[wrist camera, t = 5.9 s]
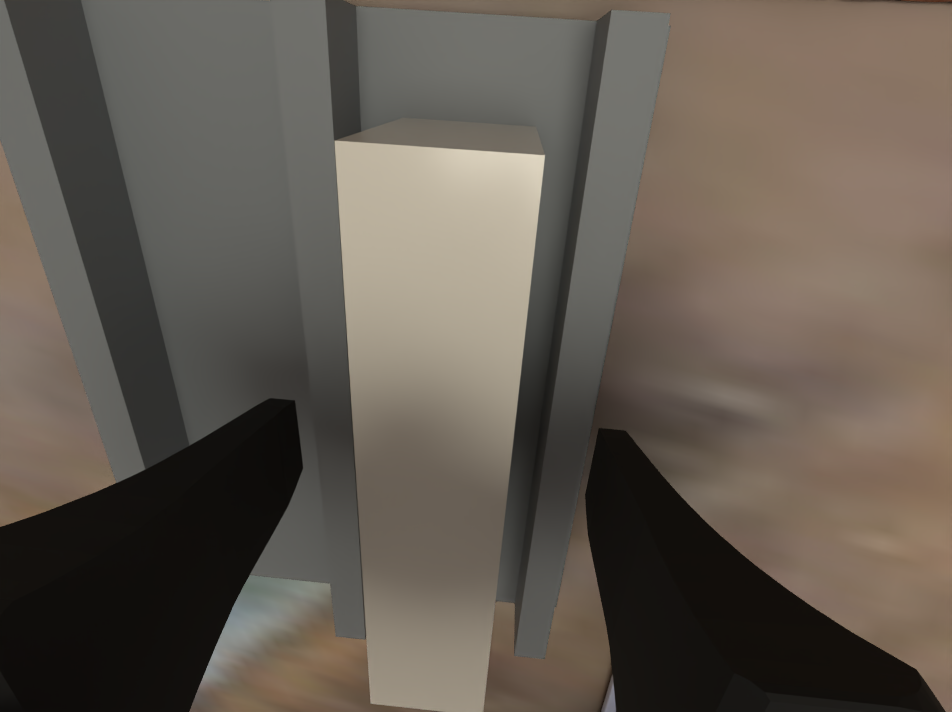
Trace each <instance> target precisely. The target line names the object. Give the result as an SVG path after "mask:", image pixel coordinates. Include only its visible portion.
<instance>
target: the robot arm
mask: <svg viewBox="0 0 952 712" xmlns="http://www.w3.org/2000/svg"><path fill="white" fill-rule="evenodd" d="M302 470H303V461H302V453H301V445H300V437H299V428H298V420H297V412H296V403H295V400H286V399H275V398H269V399H267V400H265V401H264V402H262V403H260V404H258V405H256V406H255V407H253V408H251V409H250V410H248V411H246V412H245V413H243V414H241V415H240V416H238V417H237V418H235V419H233V420H232V421H230V422H228V423H227V424H225V425H223V426H222V427H220V428H218V429H217V430H215V431H214V432H212V433H210V434H209V435H207V436H205V437H204V438H202V439H200V440H199V441H197V442H195V443H193V444H191V445H190V446H188V447H186V448H184V449H182V450H181V451H179V452H177V453H175V454H173V455H171V456H170V457H168V458H166V459H164V460H162V461H161V462H159V463H157V464H155V465H153V466H151V467H149V468H147V469H145V470H143V471H141V472H139V473H137V474H135V475H133V476H131V477H129V478H126V479H124V480H122V481H120V482H118V483H115V484H113V485H111V486H109V487H107V488H104V489H102V490H100V491H97V492H95V493H92V494H90V495H87V496H85V497H82V498H80V499H77V500H74V501H72V502H69V503H67V504H64V505H62V506H59V507H56V508H54V509H51V510H49V511H46V512H43V513H41V514H38V515H35V516H32V517H29V518H26V519H23V520H20V521H17V522H14V523H11V524H8V525H5V526H2V527H0V712H189V711H190V708H191V706H192V703H193V700H194V698H195V695H196V693H197V690H198V688H199V685H200V683H201V680H202V678H203V675H204V673H205V671H206V668H207V666H208V663H209V661H210V658H211V656H212V654H213V651H214V649H215V646H216V644H217V642H218V639H219V637H220V635H221V633H222V630H223V628H224V626H225V623H226V621H227V619H228V617H229V614H230V612H231V610H232V608H233V605H234V603H235V601H236V599H237V597H238V596H239V594H240V592H241V590H242V588H243V586H244V584H245V582H246V581H247V579H248V577H249V575H250V573H251V572H252V570H253V568H254V566H255V565H256V563H257V561H258V559H259V558H260V556H261V554H262V552H263V550H264V549H265V547H266V545H267V543H268V542H269V540H270V538H271V536H272V535H273V533H274V531H275V529H276V527H277V526H278V524H279V522H280V520H281V518H282V517H283V515H284V513H285V511H286V509H287V507H288V505H289V503H290V501H291V498H292V496H293V494H294V491H295V489H296V486H297V483H298V481H299V478H300V475H301V473H302ZM585 499H586V515H587V527H588V537H589V542H590V547H591V552H592V557H593V562H594V567H595V572H596V577H597V582H598V587H599V592H600V597H601V602H602V606H603V611H604V616H605V621H606V626H607V633H608V639H609V645H610V654H611V664H612V677H611V680H610V684H609V687H608V690H607V694H606V697H605V700H604V704H603V707H602V710H601V712H945V710H944V709H943V707H942V706H941V704H940V703H939V701H938V700H937V698H936V697H935V695H934V694H933V692H932V691H931V689H930V688H929V686H928V685H927V683H926V682H925V681H924V679H923V678H922V677H921V675H920V674H919V673H918V671H917V670H916V669H915V668H913V667H911V666H909V665H908V664H906V663H904V662H902V661H901V660H899V659H897V658H895V657H894V656H892V655H890V654H889V653H887V652H885V651H883V650H882V649H880V648H878V647H876V646H875V645H873V644H871V643H869V642H868V641H866V640H864V639H863V638H861V637H859V636H857V635H856V634H854V633H852V632H851V631H849V630H847V629H846V628H844V627H843V626H841V625H839V624H838V623H836V622H835V621H833V620H832V619H830V618H829V617H827V616H826V615H824V614H823V613H821V612H819V611H818V610H816V609H815V608H813V607H812V606H810V605H809V604H807V603H806V602H805V601H803V600H802V599H800V598H799V597H797V596H796V595H794V594H793V593H792V592H790V591H789V590H787V589H786V588H785V587H783V586H782V585H781V584H779V583H778V582H777V581H775V580H774V579H773V578H771V577H770V576H769V575H767V574H766V573H765V572H763V571H762V570H761V569H759V568H758V567H757V566H756V565H754V564H753V563H752V562H751V561H749V560H748V559H747V558H746V557H745V556H743V555H742V554H741V553H740V552H739V551H738V550H736V549H735V548H734V547H733V546H732V545H731V544H729V543H728V542H727V541H726V540H725V539H724V538H723V537H721V536H720V535H719V534H718V533H717V532H716V531H715V530H714V529H713V528H712V527H711V526H709V525H708V524H707V523H706V522H705V521H704V520H703V519H702V518H701V517H700V516H699V515H698V514H697V513H696V512H695V511H694V510H693V509H692V508H691V507H690V506H689V505H688V504H687V502H686V501H685V500H684V499H683V498H682V497H681V496H680V495H679V494H678V493H677V492H676V491H675V490H674V488H673V487H672V486H671V485H670V484H669V483H668V482H667V480H666V479H665V478H664V477H663V476H662V475H661V474H660V472H659V471H658V470H657V469H656V468H655V466H654V465H653V464H652V463H651V461H650V460H649V459H648V458H647V457H646V455H645V454H644V453H643V452H642V450H641V449H640V448H639V447H638V445H637V444H636V443H635V442H634V440H633V439H632V438H631V437H630V436H629V434H628V433H627V432H626V431H624V430H613V429H602V428H599V431H598V435H597V440H596V445H595V450H594V455H593V460H592V465H591V469H590V474H589V479H588V484H587V489H586V494H585Z"/></svg>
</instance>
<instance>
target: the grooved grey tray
mask: <svg viewBox="0 0 952 712" xmlns="http://www.w3.org/2000/svg"><path fill="white" fill-rule="evenodd" d="M670 14H671V13H655V12H638V11H622V10H611V11H609V12H608V13H607V14H606V15H604V16H603V17H602V18H600V19H599V20H598V21H587V20H571V19H555V18H539V17H523V16H507V15H491V14H474V13H458V12H442V11H426V10H410V9H394V8H378V7H362V6H355V5H352V4H350V3H348V2H345V1H343V0H270V1H265V0H0V141H1V143H2V146H3V149H4V152H5V155H6V158H7V161H8V164H9V167H10V170H11V173H12V176H13V179H14V182H15V185H16V188H17V191H18V194H19V197H20V200H21V203H22V205H23V208H24V211H25V214H26V217H27V220H28V223H29V226H30V229H31V232H32V235H33V238H34V241H35V244H36V247H37V250H38V253H39V256H40V259H41V262H42V265H43V267H44V270H45V273H46V276H47V279H48V282H49V285H50V288H51V291H52V294H53V297H54V300H55V303H56V306H57V309H58V312H59V315H60V318H61V321H62V324H63V327H64V329H65V332H66V335H67V338H68V341H69V344H70V347H71V350H72V353H73V356H74V359H75V362H76V365H77V368H78V371H79V374H80V377H81V380H82V383H83V386H84V389H85V391H86V394H87V397H88V400H89V403H90V406H91V409H92V412H93V415H94V418H95V421H96V424H97V427H98V430H99V433H100V436H101V439H102V442H103V445H104V448H105V451H106V453H107V456H108V459H109V462H110V465H111V468H112V471H113V474H114V477H115V480H116V483H118V482H120V481H122V480H124V479H126V478H129V477H131V476H133V475H135V474H137V473H139V472H141V471H143V470H145V469H147V468H149V467H151V466H153V465H155V464H157V463H159V462H161V461H162V460H164V459H166V458H168V457H170V456H171V455H173V454H175V453H177V452H179V451H181V450H182V449H184V448H186V447H188V446H190V445H191V444H193V443H195V442H197V441H199V440H200V439H202V438H204V437H205V436H207V435H209V434H210V433H212V432H214V431H215V430H217V429H218V428H220V427H222V426H223V425H225V424H227V423H228V422H230V421H232V420H233V419H235V418H237V417H238V416H240V415H241V414H243V413H245V412H246V411H248V410H250V409H251V408H253V407H255V406H256V405H258V404H260V403H262V402H264V401H265V400H267V399H269V398H275V399H286V400H295V403H296V412H297V420H298V428H299V437H300V445H301V453H302V461H303V470H302V473H301V475H300V478H299V481H298V483H297V486H296V489H295V491H294V494H293V496H292V498H291V501H290V503H289V505H288V507H287V509H286V511H285V513H284V515H283V517H282V518H281V520H280V522H279V524H278V526H277V527H276V529H275V531H274V533H273V535H272V536H271V538H270V540H269V542H268V543H267V545H266V547H265V549H264V550H263V552H262V554H261V556H260V558H259V559H258V561H257V563H256V565H255V566H254V568H253V570H252V572H251V573H250V575H254V576H264V577H273V578H283V579H292V580H302V581H311V582H321V583H330V585H331V594H332V604H333V614H334V623H335V633H336V636H337V637H346V638H355V639H364V640H365V639H366V623H365V608H364V592H363V577H362V561H361V545H360V530H359V514H358V499H357V483H356V468H355V452H354V437H353V421H352V405H351V390H350V374H349V359H348V343H347V328H346V312H345V296H344V281H343V265H342V250H341V234H340V219H339V203H338V188H337V172H336V156H335V140H338V139H341V138H344V137H347V136H350V135H353V134H356V133H359V132H362V131H365V130H368V129H371V128H374V127H377V126H380V125H383V124H386V123H389V122H392V121H395V120H398V119H401V118H416V119H431V120H445V121H460V122H475V123H490V124H504V125H519V126H534V127H536V128H537V131H538V135H539V138H540V141H541V144H542V147H543V150H544V154H545V160H544V169H543V178H542V187H541V196H540V205H539V214H538V223H537V232H536V241H535V250H534V259H533V268H532V277H531V286H530V295H529V304H528V313H527V322H526V331H525V340H524V349H523V358H522V367H521V376H520V385H519V394H518V403H517V412H516V421H515V430H514V439H513V448H512V457H511V466H510V475H509V484H508V493H507V502H506V511H505V520H504V529H503V538H502V547H501V556H500V565H499V574H498V583H497V592H496V601H502V602H511V603H515V640H514V656H520V657H529V658H539V659H545V654H546V649H547V644H548V639H549V634H550V629H551V623H552V618H553V613H554V608H555V607H556V605H557V600H558V595H559V590H560V585H561V580H562V575H563V570H564V565H565V559H566V554H567V549H568V544H569V539H570V534H571V529H572V524H573V519H574V514H575V509H576V504H577V499H578V494H579V488H580V483H581V478H582V473H583V468H584V463H585V458H586V453H587V448H588V443H589V438H590V433H591V428H592V423H593V417H594V412H595V407H596V402H597V397H598V392H599V387H600V382H601V377H602V372H603V367H604V362H605V357H606V351H607V346H608V341H609V336H610V331H611V326H612V321H613V316H614V311H615V306H616V301H617V296H618V291H619V286H620V280H621V275H622V270H623V265H624V260H625V255H626V250H627V245H628V240H629V235H630V230H631V225H632V220H633V214H634V209H635V204H636V199H637V194H638V189H639V184H640V179H641V174H642V169H643V164H644V159H645V154H646V149H647V143H648V138H649V133H650V128H651V123H652V118H653V113H654V108H655V103H656V98H657V93H658V88H659V83H660V77H661V72H662V67H663V62H664V57H665V52H666V47H667V42H668V37H669V32H670V27H671V26H668V24H669V19H670Z"/></svg>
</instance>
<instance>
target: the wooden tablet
mask: <svg viewBox="0 0 952 712" xmlns="http://www.w3.org/2000/svg"><path fill="white" fill-rule="evenodd" d="M903 1H922V2H947V1H948V2H952V0H903Z"/></svg>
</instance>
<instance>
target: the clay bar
mask: <svg viewBox="0 0 952 712" xmlns="http://www.w3.org/2000/svg"><path fill="white" fill-rule="evenodd" d="M335 156H336V172H337V188H338V203H339V219H340V234H341V250H342V265H343V281H344V296H345V312H346V328H347V343H348V359H349V374H350V390H351V405H352V421H353V437H354V452H355V468H356V483H357V499H358V514H359V530H360V545H361V561H362V577H363V592H364V608H365V623H366V639H367V654H368V670H369V686H370V701H371V704H379V705H388V706H397V707H406V708H415V709H424V710H433V711H442V712H483V708H484V699H485V691H486V682H487V673H488V664H489V655H490V646H491V637H492V628H493V619H494V610H495V601H496V592H497V583H498V574H499V565H500V556H501V547H502V538H503V529H504V520H505V511H506V502H507V493H508V484H509V475H510V466H511V457H512V448H513V439H514V430H515V421H516V412H517V403H518V394H519V385H520V376H521V367H522V358H523V349H524V340H525V331H526V322H527V313H528V304H529V295H530V286H531V277H532V268H533V259H534V250H535V241H536V232H537V223H538V214H539V205H540V196H541V187H542V178H543V169H544V160H545V154H544V150H543V147H542V144H541V141H540V138H539V135H538V131H537V128H536V127H534V126H519V125H504V124H490V123H475V122H460V121H445V120H431V119H416V118H401V119H398V120H395V121H392V122H389V123H386V124H383V125H380V126H377V127H374V128H371V129H368V130H365V131H362V132H359V133H356V134H353V135H350V136H347V137H344V138H341V139H338V140H335Z"/></svg>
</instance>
